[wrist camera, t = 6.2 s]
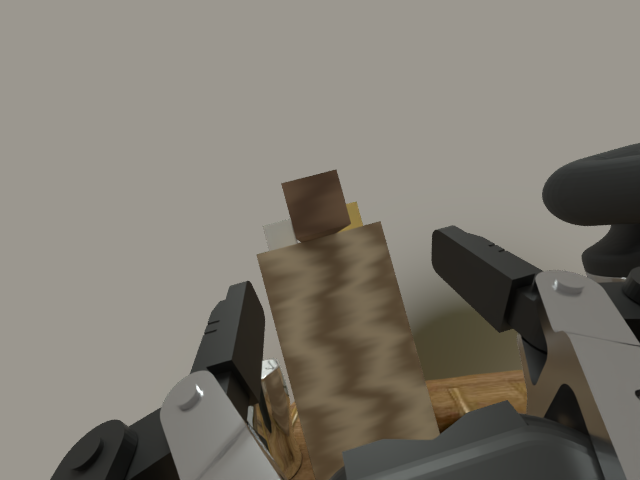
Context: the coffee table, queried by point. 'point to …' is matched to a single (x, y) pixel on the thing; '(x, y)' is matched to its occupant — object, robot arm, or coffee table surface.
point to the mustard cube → (353, 216)
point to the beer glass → (276, 418)
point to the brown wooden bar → (316, 206)
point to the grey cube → (280, 234)
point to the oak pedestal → (346, 344)
